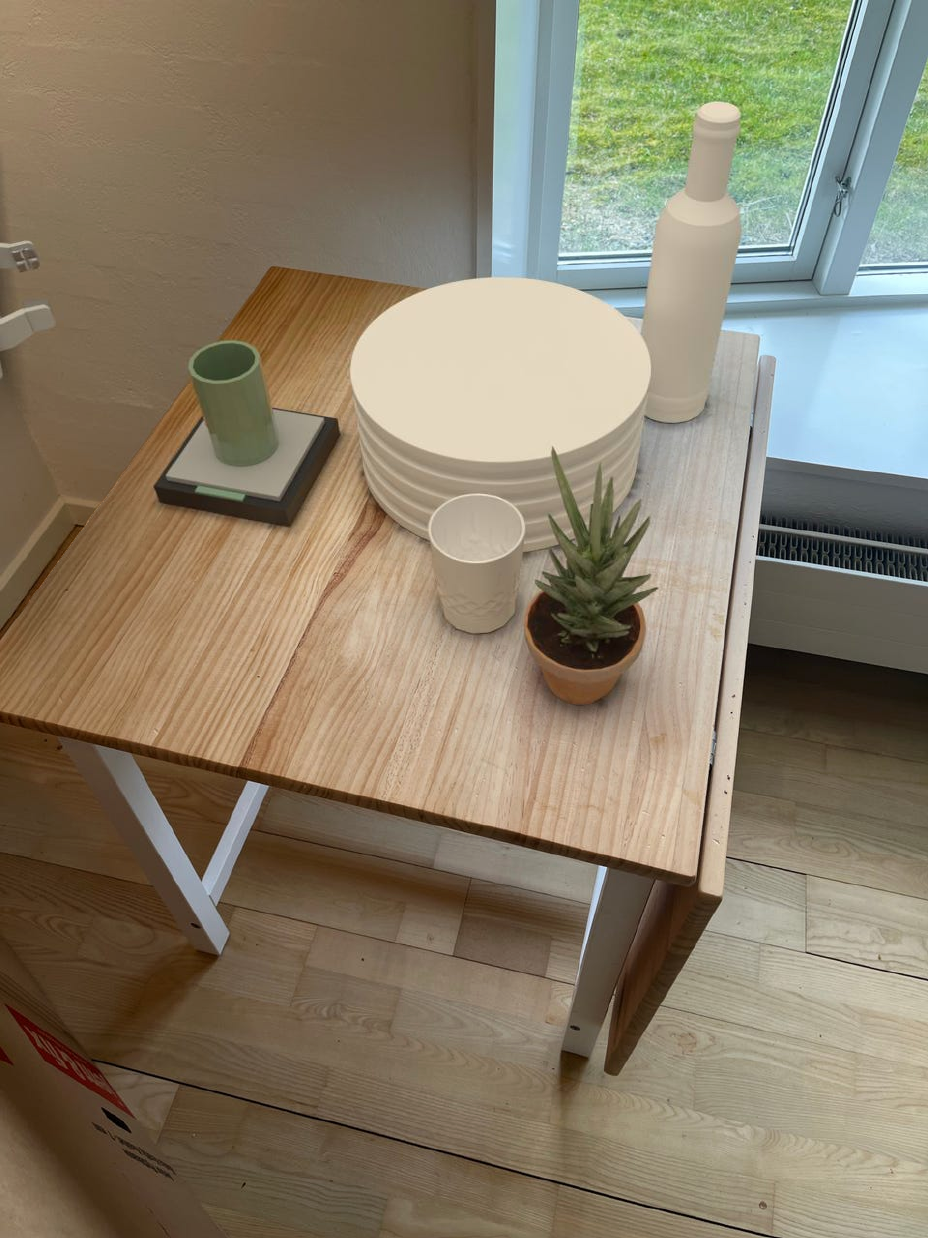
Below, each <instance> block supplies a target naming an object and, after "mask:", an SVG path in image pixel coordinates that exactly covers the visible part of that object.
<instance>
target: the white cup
mask: <svg viewBox="0 0 928 1238" xmlns="http://www.w3.org/2000/svg"><path fill="white" fill-rule="evenodd" d="M428 533H429V540H430V541H429V540H428V541H429V546H430V554H431V559H432V568H433V574H434V579H435V585H436V590H437V594H438V598H439V605H440V609H441V612H442V615H443V617H444V619H445V620H446V621H447V622H448V623H449V624H450V625H452V626H453V627H454V628H455V629H457V630H458V631H462V632H467V633H470V634H484V633H485V634H488V633H491V632H494V631H496V630H497V629H500V628H502V627H505V625H506V624H507V623H508V622H509V621H510V620H511V618H512V617H513V616H514V615H515V610H516V605H517V596H518V591H519V590H520V589H519V588H520V581H521V580H520V579H521V572H522V566H523V555H524V552H523V545H524V535H525V523H524V519H523V517H522V515H521V513H520V512H519V510H518V509H517V508H516V507H515V506H514V505H512V504H511V503H510V502H508V501H506V500H505V499H502V498H500V497H497V496H494V495H489V494H480V493H475V494H466V495H461V496H458V497H455V498H452V499H450V500H448V501H446V502H445V503H443V504H442V505H441V506H440V507H438V508H437V509H436V511H435V512H434V513H433V515H432V516H431V518H430V521H429V525H428Z"/></svg>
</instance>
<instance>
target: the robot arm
mask: <svg viewBox="0 0 928 1238" xmlns="http://www.w3.org/2000/svg"><path fill="white" fill-rule="evenodd" d="M40 264H41V263H40V259H39V255H38V252H37V250H36V247H35V245H34V243H33V242H32V241H30V240H22V241H18V242H13V243H7V242H0V270H8V269H10V270H13V269H18V272H19V273H25V272H28V271H30V270H37V269H38V268H40ZM22 306H23V307H22V308H20V309H17V310H16V311H14V312H11V313H10V314H7V315H5V316H3V317H1V316H0V352H3V351H7V350H11V349H15V347H17V346H19V345H20V344H22V343H23V342H25V341H26V340H27V339H29V338H30V337H32V336H33V335H34V334H36V333H39V332H44V331H47V330H52V329H53V328H55V327H56V320H55V315H54V313H53V310H52V308H51V304H50V303H49V301H48V299H46V298H43V297H42V298H41V297H40V298H37V299H36V300H28V301H24V302H22ZM3 373H4V372H3V368H2V363H1V362H0V381H1V380H2V379H3V376H4V375H3Z"/></svg>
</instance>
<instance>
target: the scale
mask: <svg viewBox="0 0 928 1238" xmlns="http://www.w3.org/2000/svg"><path fill="white" fill-rule="evenodd" d="M272 409H273V413H274V418H275V422H276V426H277V431H278V438H279V444H278V447H277V449H276V451H275V452H274V454H273V455H272V456H271V457H269V458H268V459H266V460H265V461H263V462H261V463H258V464H255V465H251V466H244V467H238V466H231V465H228V464H225V463H223V462H222V461H220V460H219V459H218V458H217V457H216V455H215V453H214V450H213V447H212V445H211V441H210V438H209V435H208V432H207V428H206V425H205V422H204V419H203V415H202V414H201V415H202V416H201V417H200V418H199V420H198V421H197V422H196V424H195V425H194V427H193V428H192V430H191V431H190V433H189V434H188V435H187V436H186V438H185V440H184V441H183V443H182V444H181V446H180V447H179V448H178V450H177V451H176V453H175V454H174V455H173V457H172V459H171V460H170V461H169V463H168V464H167V466H166V467H165V468H164V470H163V472H162V473H161V474H160V476H159V477H158V479H157V480H156V482H155V483H154V484H153V489H154V491H155V494H156V496H157V499H158V502H159V503H161V504H162V503H163V504H168V505H173V506H177V507H184V508H188V509H193V510H199V511H204V512H208V513H209V512H210V513H214V514H218V515H219V514H221V515H225V516H230V517H235V518H236V517H237V518H241V519H246V520H251V521H256V522H260V523H261V522H262V523H267V524H271V525H277V526H283V527H288V528H290V527H291V526H292V524H293V522H294V520H295V518H296V516H297V515H298V512H299V511H300V510H301V507H302V505H303V504H304V502H305V500H306V498H307V496H308V495H309V493H310V491H311V489H312V487H313V485H314V483H315V482H316V480H317V478H318V476H319V474H320V472H321V471H322V469H323V467H324V465H325V463H326V462H327V460H328V458H329V456H330V454H331V452H332V451H333V448H334V447H335V445H336V443H337V442H338V439H339V438H340V436H341V431H340V424H339V420H338V418H337V417H332V416H325V415H320V414H313V413H307V412H301V411H296V410H290V409H283V408H278V407H272Z"/></svg>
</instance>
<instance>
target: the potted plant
mask: <svg viewBox="0 0 928 1238" xmlns="http://www.w3.org/2000/svg"><path fill="white" fill-rule="evenodd" d="M551 455H552V460H553V464H554V469H555V474H556V478H557V482H558V485H559V489H560V492H561V496H562V499H563V503H564V507H565V510H566V512H567V515H568V517H569V520H570V523H571V526H572V529H573V532H574V535H575V537H576V538H575V540H576V543H577V545H576V544H575V543H574V542H572V540H569V539H568V538H567V536H566V535H565V534H564V533H563V532H562V530H561V529H560V528H559V526H558V525H557V524H556V522H555V521H554V519H553V518H552V517H551V515H550V514H549V513H548V518H549V522H550V524H551V527H552V530H553V533H554V535H555V537H556V539H557V541H558V543H559V545H558V546H559V547H560V549H561V551H562V553H563V555H564V557H565V559H566V560H565V564H566V568H565V567H564V565H563V564H562V563H561V561H560V559H558V557H557V556H556V554H555V552H554V551H553V549H552V547H550V546H549V547H547V548H546V549H547V550H548V553H549V554H548V555H550V558H551V561H552V563H553V566H554V567H555V570H556V571H557V574H558V575H555V574H552V573H549V572H545V571H543V570H542V571H541V574H542V576H543V578H544V579H546V580H547V581H548V582H549V584H547V583H544V582H542V581H540V580H538V579H534V585H536V587H537V588H539V589H540V590H539V592H537V593H535V595H534V596H533V597H532V599H531V600H530V602H529V603H528V605H527V607H526V610H525V612H524V616H523V631H524V637H525V638H524V639H525V643H526V646H527V648H528V651H529V652H530V654H531V656H532V658H533V659H534V661H535V662H536V663H537V664H538V665H539V667H540V669H541V671H542V674H543V676H544V679H545V682H546V685H547V687H548V689H549V690H550V691H551V693H553V695H554V696H556V697H557V698H558V699H559V700H561V701H564V702H566V703H568V704H571V705H576V706H578V705H579V706H583V705H590V704H592V703H594V702H596V701H599V700H601V699H602V698H605V697H606V696H607V695H608V694H609V693H610V692H611V691H612V689H613V688H614V686H615V685H616V683H617V682H618V681H619V679H620V678H621V677H622V675H623V674H624V673H626V672H627V671H628V670H629V669H630V668H631V667H632V666H633V665H634V663H635V662H636V661H637V660H638V658H639V656H640V654H641V653H642V650H643V647H644V643H645V638H646V632H647V628H646V627H647V626H646V618H645V614H644V610H643V607H641V605H640V604H639V603H638V602H641V601H642V600H644V599H645V598H647V597H649V596H650V595H651V594H653V593H654V592H656V591H657V590H659V587H658V586H656V587H655V586H654V587H652V588H649V589H645V590H642V591H639V592H636V590H637V589H638V588H640V587H641V586H643V585H644V584H645V583H646V582H648V581H650V579H651V577H652V574H651V573H648V574H644V575H636V576H624V573H625V571H626V570H627V568H628V565H629V563H630V561H631V559H632V556H633V555H634V553H635V551H636V550H637V548H638V546H639V545H640V543H641V541H642V539H643V538H644V536H645V534H646V532H647V530H648V528H649V526H650V523H651V516H650V515H648V517H647V518H646V519H645V520H644V522H643V523H642V524H641V525H640V526H639V528H637V530H636V531H635V533H633V535H632V536H631V537H630V538H629V539H628V537H629V535H630V533H631V532H632V529H633V527H634V525H635V522H636V521H637V518H638V515H639V512H640V510H641V506H642V501H643V498H640V499H639V500H638V501H637V502H636V503H635V504H634V505H633V506H632V508H631V509H630V511H629V513H628V514H627V516H626V517H625V518H624V520H623V521H622V522H621V517H622V516H621V515H618V517H617V521H616V523H615V525H614V528H613V530H612V525H613V524H612V523H613V514H614V512H613V498H614V489H613V476H611V477H610V480H609V483H608V486H607V489H606V492H605V496H604V499H603V502H602V506H601V496H602V495H601V492H602V470H601V462H600V463H599V466H598V471H597V475H596V481H595V491H594V498H593V504H591V509H590V518H589V530H587V527H586V524H585V522H584V520H583V518H582V516H581V514H580V512H579V509H578V507H577V504H576V501H575V499H574V496H573V494H572V491H571V489H570V486H569V484H568V481H567V479H566V476H565V474H564V472H563V469H562V467H561V464H560V462H559V459H558V456H557V454H556V451H555V450H554V447H553V446H552V451H551ZM620 522H621V524H620ZM612 531H613V532H612ZM611 534H612V535H611Z"/></svg>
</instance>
